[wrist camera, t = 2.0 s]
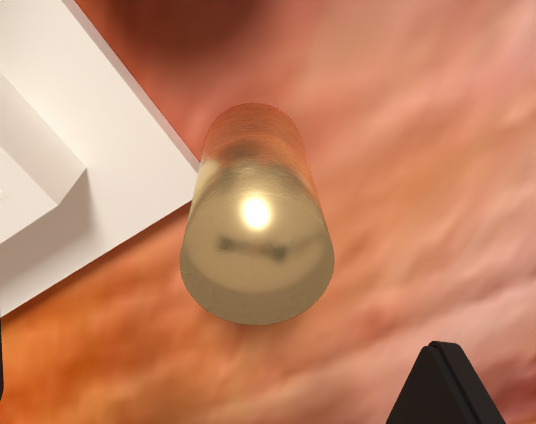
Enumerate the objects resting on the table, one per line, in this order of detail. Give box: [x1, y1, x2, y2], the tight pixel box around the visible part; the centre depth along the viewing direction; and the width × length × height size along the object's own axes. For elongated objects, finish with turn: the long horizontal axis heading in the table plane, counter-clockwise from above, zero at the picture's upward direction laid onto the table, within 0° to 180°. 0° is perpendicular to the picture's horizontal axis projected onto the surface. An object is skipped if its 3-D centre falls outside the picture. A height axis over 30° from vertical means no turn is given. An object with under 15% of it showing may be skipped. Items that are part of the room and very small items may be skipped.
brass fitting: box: [180, 103, 334, 325], centre depth 18 cm, size 4×4×9 cm
